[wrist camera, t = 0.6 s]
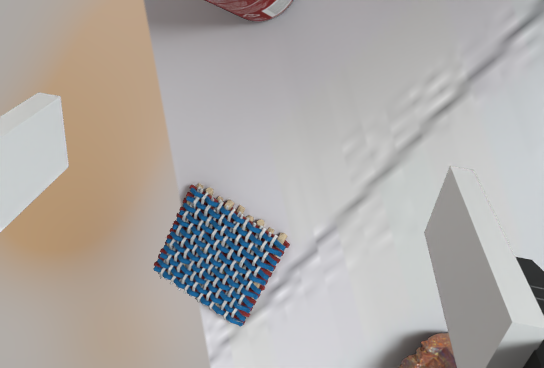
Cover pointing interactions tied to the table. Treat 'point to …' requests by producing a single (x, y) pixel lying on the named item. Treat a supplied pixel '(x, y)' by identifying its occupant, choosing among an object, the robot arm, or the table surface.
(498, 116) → the table surface
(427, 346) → the mineral specimen
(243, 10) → the soda can
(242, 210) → the woven mat
